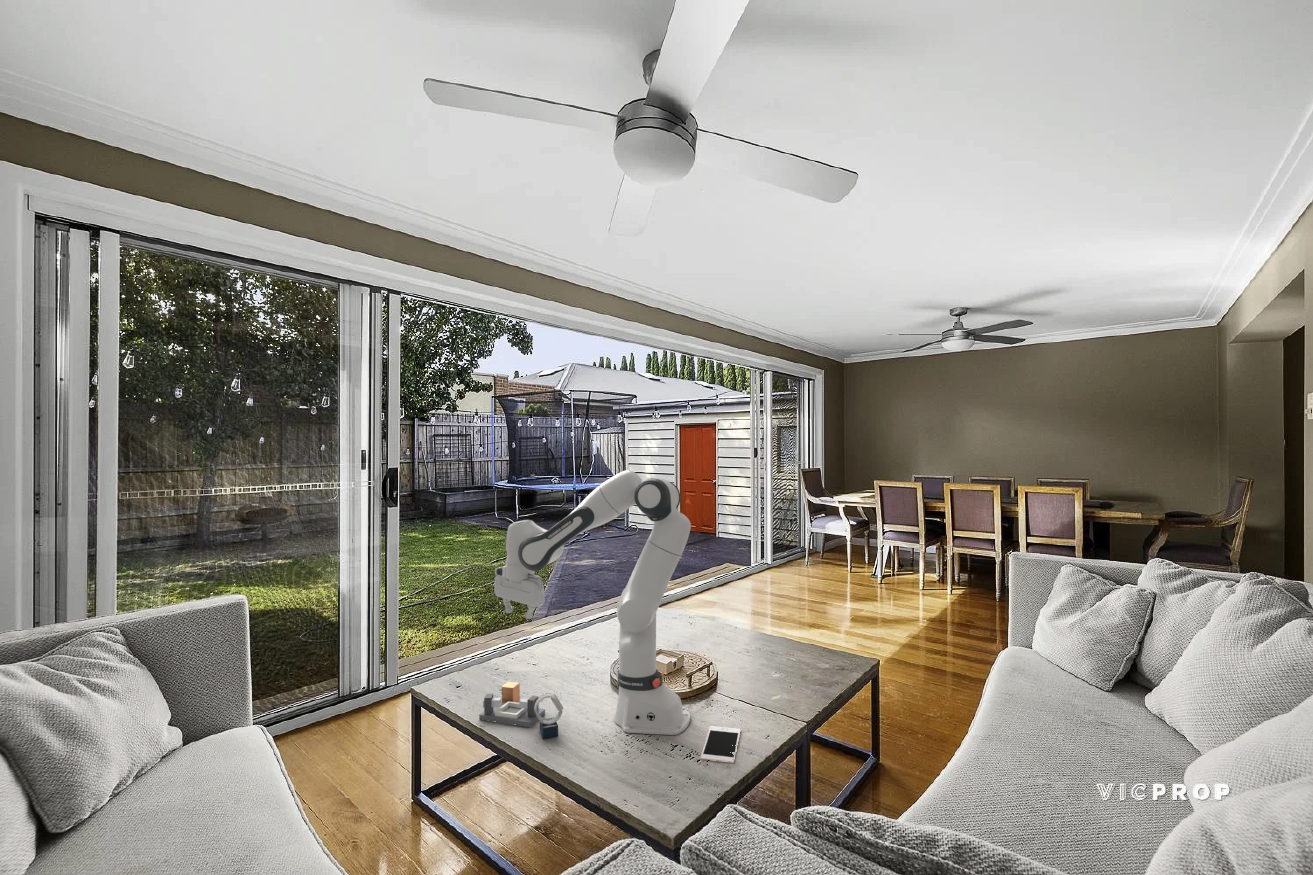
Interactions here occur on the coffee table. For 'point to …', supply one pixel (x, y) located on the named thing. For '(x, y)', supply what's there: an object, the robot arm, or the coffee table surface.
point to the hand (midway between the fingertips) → (518, 615)
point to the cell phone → (721, 744)
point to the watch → (550, 724)
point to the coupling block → (511, 692)
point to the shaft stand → (511, 711)
